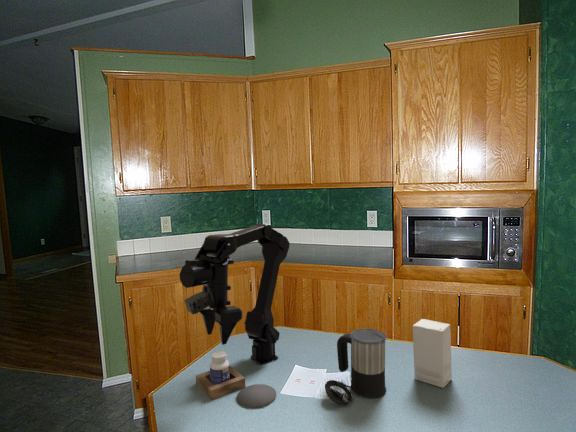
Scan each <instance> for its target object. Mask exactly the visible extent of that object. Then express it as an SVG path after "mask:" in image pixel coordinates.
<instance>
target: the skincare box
mask: <svg viewBox="0 0 576 432" xmlns="http://www.w3.org/2000/svg"><path fill="white" fill-rule="evenodd" d="M451 337H452V334H451V324H450V323H446V322H440V321H435V320H432V319H431V320H430V319H425V318H421V319H420V320H418V321H417V322H416V323H414V324H413V325H412V342H413V346H412V347H413V369H414V370H413V371H414V374H413V375H414V379H415V380H417V381H419V382H423V383H426V384H430V385H431V386H432V385H433V386H436V387H439V388H441V389H444V388H445V387H446V386H447V384H449V382H450V381H451V380H452V378H453V375H452V367H453V366H452V340H451V339H452V338H451Z"/></svg>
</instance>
